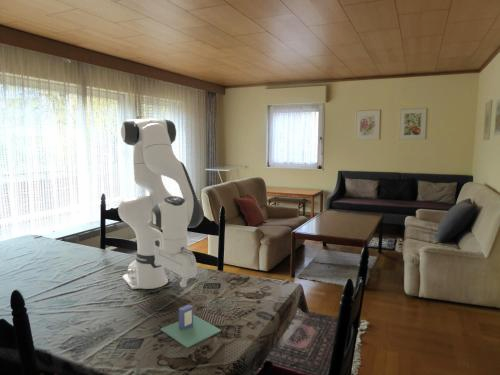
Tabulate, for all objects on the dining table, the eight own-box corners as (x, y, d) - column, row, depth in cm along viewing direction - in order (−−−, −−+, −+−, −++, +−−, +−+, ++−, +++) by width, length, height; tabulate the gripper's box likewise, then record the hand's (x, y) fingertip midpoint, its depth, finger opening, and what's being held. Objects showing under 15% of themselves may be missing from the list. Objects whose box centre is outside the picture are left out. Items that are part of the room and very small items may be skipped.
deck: (188, 323, 126) (188, 304, 125) (193, 325, 125) (193, 306, 124) (178, 327, 123) (178, 308, 122) (183, 330, 122) (182, 310, 121)
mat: (160, 329, 123) (160, 328, 122) (193, 315, 133) (193, 314, 133) (187, 348, 112) (187, 347, 112) (221, 331, 122) (221, 330, 122)
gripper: (201, 249, 120) (201, 289, 122) (166, 235, 134) (166, 271, 136) (185, 254, 115) (185, 295, 117) (151, 239, 129) (151, 276, 131)
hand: (175, 282), depth 127 cm, fingers open, 8 cm apart
